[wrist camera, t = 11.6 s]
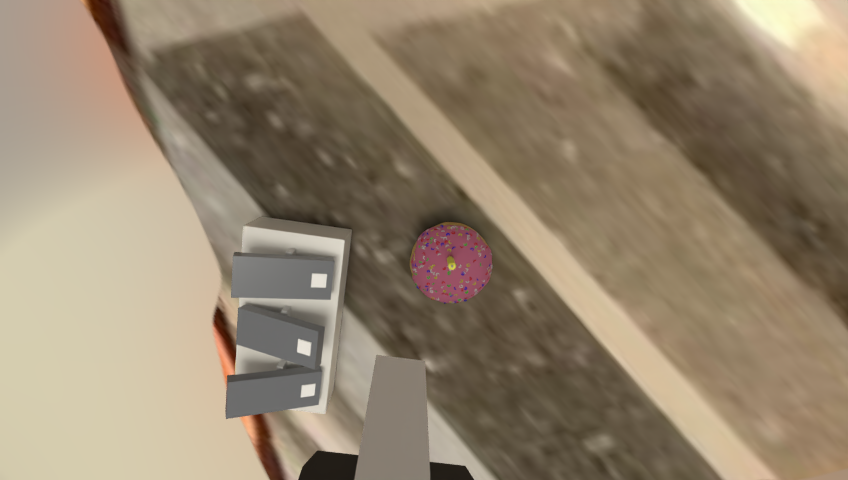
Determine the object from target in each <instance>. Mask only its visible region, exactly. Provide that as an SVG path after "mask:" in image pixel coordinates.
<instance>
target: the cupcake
mask: <svg viewBox="0 0 848 480" xmlns="http://www.w3.org/2000/svg"><path fill="white" fill-rule="evenodd" d="M492 267H493V265H492V253H491V249H490V248H489V246H488V245H487V243H486V242H485V240H484V239H483V238H482V237H481V236H480V235H479V234H478V233H477V232H476V231H475V230H474V229H472V228H470V227H469V226H467V225H464V224H461V223H454V222H444V223H441V224H439V225H436V226H434V227H432V228H429V229H427V230H425V231H424V232H423V233H422V234H421V235H420V236H419V237H418V239H417V242H416V243H415V245H414V247H413V250H412V253H411V257H410V269H411V272H412V276H413V277H412V278H413V281H414V282H415V284H416V286H417V288H418V289H420V290H421V291H422V292H423V293H424V294H425V295H426V296H427V297H429V298H431V299H433V300H437V301H440V302H444V304H445V303H458V302H461V301H465V300H466V301H467V299H469V298H471V297H473V296H475V295H476V294H477V293H478V292H480V291H481V289H482V288H483V287H484V286H485V285H486V284H487V283H488V281H489V279H490V276H491V273H492V272H491V270H492Z"/></svg>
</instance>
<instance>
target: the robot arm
mask: <svg viewBox="0 0 848 480" xmlns="http://www.w3.org/2000/svg"><path fill="white" fill-rule="evenodd" d="M298 480H474V479H473V477H472V476H471V474H470V473H469V471H468V470H467V468H466V466H461V465H452V464H444V463H435V462H430V461H429V439H428V417H427V394H426V372H425V361H421V360H413V359H405V358H397V357H389V356H382V355H376V360H375V366H374V372H373V377H372V383H371V388H370V394H369V400H368V405H367V411H366V417H365V422H364V428H363V433H362V439H361V445H360V450H359V455H352V454H343V453H334V452H325V451H317V452H316V453H315V454H314V455H313V456H312V457H311V458H310V459H309V460H308V461H307V462H306V463H305V465H304V466H303V467H302V470H301V473H300V476H299V479H298Z"/></svg>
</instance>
